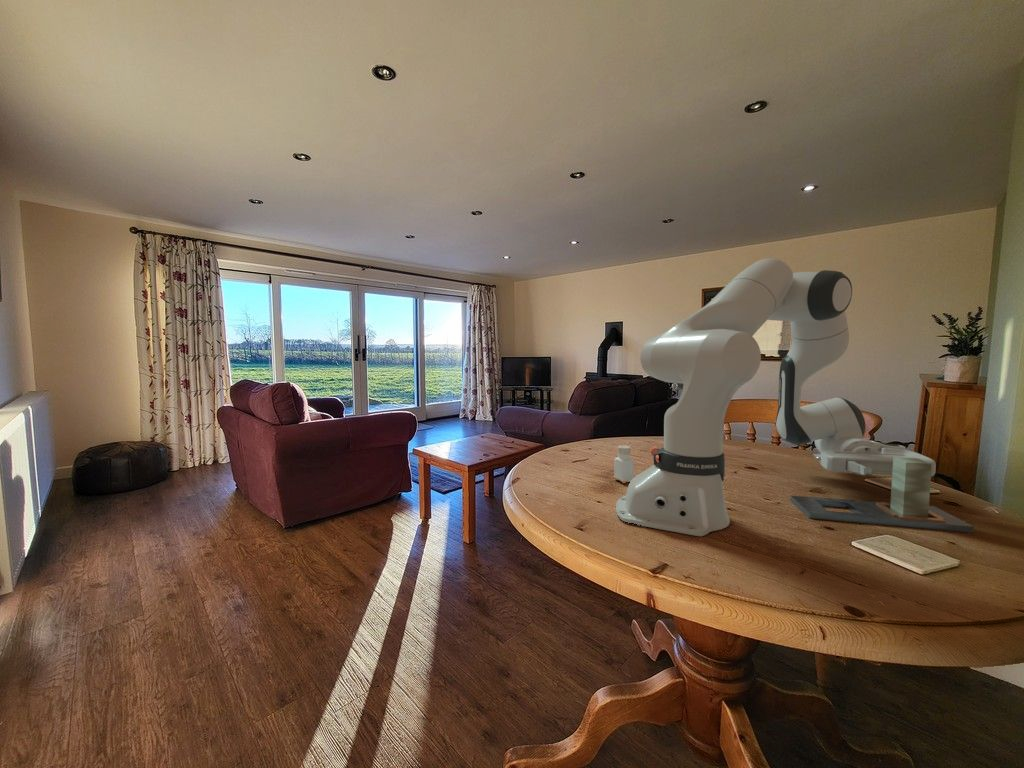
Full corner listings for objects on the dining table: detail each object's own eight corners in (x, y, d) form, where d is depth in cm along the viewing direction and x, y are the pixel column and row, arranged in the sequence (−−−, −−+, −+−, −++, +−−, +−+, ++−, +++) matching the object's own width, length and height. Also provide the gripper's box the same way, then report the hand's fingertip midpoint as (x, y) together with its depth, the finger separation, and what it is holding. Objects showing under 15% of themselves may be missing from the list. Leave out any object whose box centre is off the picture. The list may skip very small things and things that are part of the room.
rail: (809, 518, 80) (809, 511, 80) (790, 500, 90) (790, 494, 90) (973, 532, 73) (974, 525, 73) (933, 511, 82) (934, 504, 82)
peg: (902, 521, 78) (906, 462, 77) (889, 513, 82) (893, 457, 81) (927, 523, 77) (931, 463, 76) (913, 515, 81) (917, 458, 80)
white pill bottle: (634, 482, 104) (634, 447, 104) (622, 484, 103) (622, 449, 102) (625, 478, 108) (625, 444, 107) (613, 480, 107) (613, 445, 106)
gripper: (810, 442, 100) (837, 456, 87) (910, 445, 94) (956, 461, 81) (809, 466, 101) (836, 483, 87) (909, 471, 94) (954, 491, 81)
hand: (894, 473), depth 84 cm, fingers open, 8 cm apart
